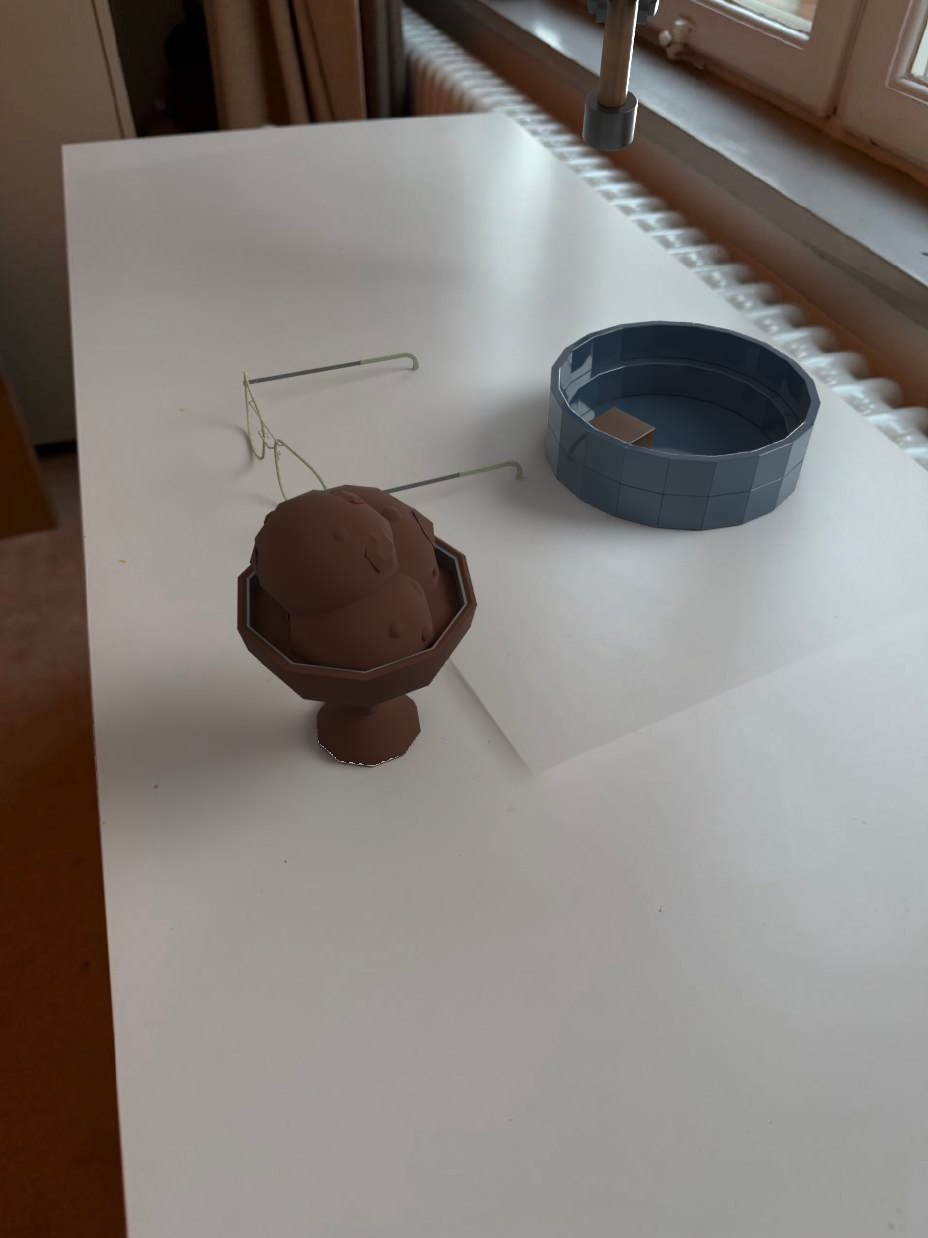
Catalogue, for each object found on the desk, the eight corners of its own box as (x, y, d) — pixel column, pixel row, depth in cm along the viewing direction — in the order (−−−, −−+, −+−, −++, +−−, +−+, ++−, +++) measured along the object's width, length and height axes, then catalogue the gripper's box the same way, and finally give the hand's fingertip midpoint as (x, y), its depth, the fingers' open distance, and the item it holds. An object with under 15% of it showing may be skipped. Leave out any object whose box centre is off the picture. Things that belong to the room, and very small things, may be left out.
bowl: (733, 382, 76) (749, 309, 72) (843, 519, 64) (869, 441, 60) (517, 408, 74) (520, 334, 69) (589, 556, 62) (598, 477, 57)
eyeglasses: (231, 425, 72) (220, 363, 68) (418, 376, 77) (416, 315, 73) (315, 553, 62) (306, 487, 58) (523, 486, 67) (526, 422, 63)
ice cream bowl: (457, 824, 47) (458, 591, 37) (231, 792, 49) (171, 559, 38) (488, 664, 55) (496, 433, 45) (292, 640, 56) (256, 410, 46)
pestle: (630, 122, 80) (656, -74, 69) (634, 151, 78) (661, -48, 67) (581, 123, 81) (598, -74, 69) (583, 151, 78) (601, -47, 67)
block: (608, 450, 68) (614, 406, 66) (648, 472, 67) (655, 427, 64) (574, 470, 67) (579, 426, 64) (614, 494, 65) (620, 449, 62)
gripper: (545, -281, 66) (521, -23, 66) (756, -276, 65) (733, -15, 65) (544, -188, 74) (523, 43, 74) (734, -183, 73) (713, 52, 73)
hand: (622, 15), depth 69 cm, fingers closed on pestle, 2 cm apart
